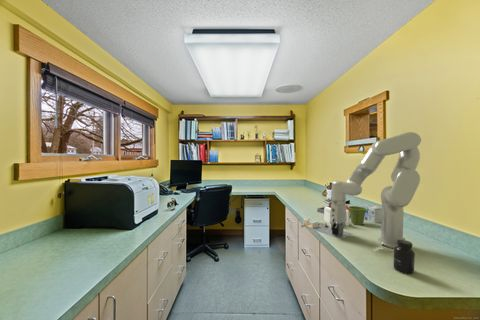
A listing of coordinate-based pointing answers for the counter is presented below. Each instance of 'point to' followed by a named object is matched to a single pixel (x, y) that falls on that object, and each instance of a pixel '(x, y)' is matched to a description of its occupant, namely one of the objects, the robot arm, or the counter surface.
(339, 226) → the block
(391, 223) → the robot arm
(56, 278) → the counter surface
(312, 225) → the board
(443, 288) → the counter surface
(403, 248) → the supplement bottle
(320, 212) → the tray
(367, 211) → the light bulb box
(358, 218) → the plant pot
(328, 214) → the cable organizer
